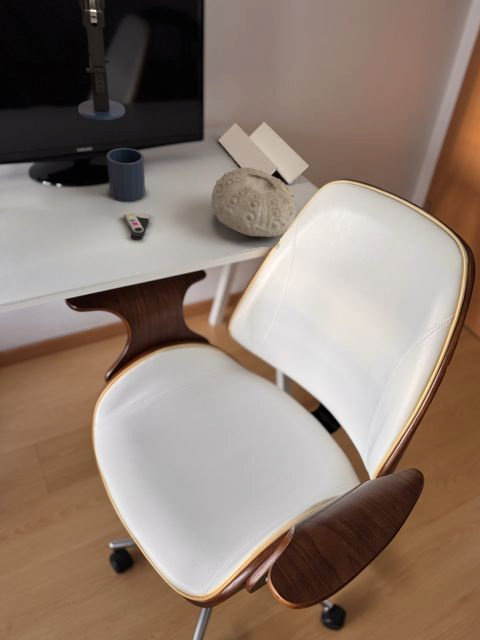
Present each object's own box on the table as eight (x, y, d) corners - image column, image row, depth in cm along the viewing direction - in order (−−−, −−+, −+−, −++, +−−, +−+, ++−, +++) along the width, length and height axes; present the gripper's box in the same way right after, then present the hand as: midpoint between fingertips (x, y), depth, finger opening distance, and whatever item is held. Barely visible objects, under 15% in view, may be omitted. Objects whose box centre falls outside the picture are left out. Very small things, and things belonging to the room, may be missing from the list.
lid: (79, 123, 97) (72, 68, 90) (78, 105, 102) (72, 51, 96) (126, 123, 99) (123, 69, 92) (123, 106, 104) (119, 53, 98)
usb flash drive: (142, 240, 107) (142, 235, 106) (115, 236, 107) (115, 232, 106) (150, 217, 113) (150, 213, 112) (125, 214, 113) (125, 210, 112)
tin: (111, 202, 116) (108, 164, 110) (109, 185, 121) (105, 148, 115) (146, 201, 118) (145, 163, 112) (142, 184, 123) (141, 147, 117)
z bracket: (271, 201, 132) (257, 186, 127) (232, 155, 148) (218, 140, 143) (308, 165, 130) (296, 148, 125) (264, 122, 145) (251, 106, 140)
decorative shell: (261, 190, 124) (273, 151, 117) (304, 241, 117) (320, 203, 109) (193, 201, 115) (201, 160, 108) (235, 257, 108) (247, 217, 100)
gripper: (115, -38, 79) (125, 124, 95) (109, -59, 89) (119, 90, 106) (60, -43, 77) (81, 123, 93) (60, -63, 87) (79, 89, 104)
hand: (101, 105), depth 99 cm, fingers closed on lid, 3 cm apart
